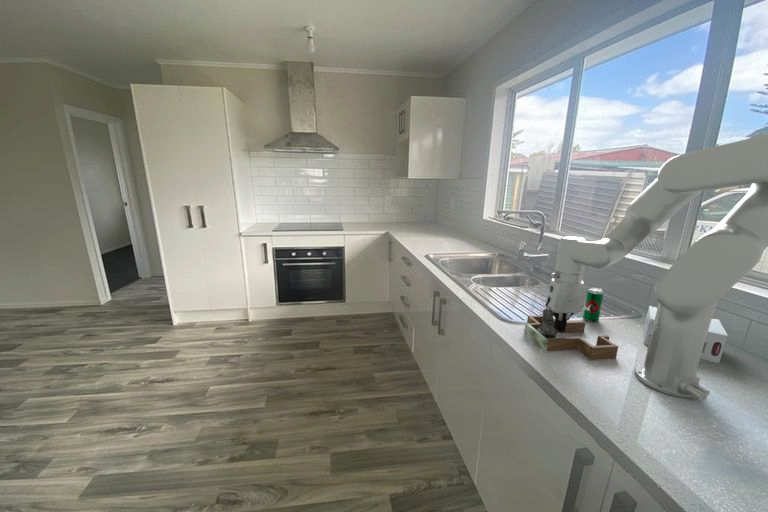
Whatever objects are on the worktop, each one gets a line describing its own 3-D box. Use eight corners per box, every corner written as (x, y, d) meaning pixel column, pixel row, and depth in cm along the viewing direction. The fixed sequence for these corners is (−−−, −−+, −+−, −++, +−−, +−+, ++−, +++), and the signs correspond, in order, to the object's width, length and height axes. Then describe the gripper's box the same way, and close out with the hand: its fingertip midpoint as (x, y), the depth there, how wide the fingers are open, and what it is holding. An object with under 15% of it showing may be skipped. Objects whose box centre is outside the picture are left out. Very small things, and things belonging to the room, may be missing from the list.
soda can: (601, 322, 111) (607, 291, 109) (588, 322, 112) (593, 291, 109) (592, 316, 116) (598, 287, 113) (579, 316, 116) (584, 287, 114)
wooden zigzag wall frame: (622, 358, 89) (624, 346, 88) (554, 362, 87) (556, 349, 86) (571, 324, 110) (572, 314, 109) (516, 326, 108) (517, 316, 107)
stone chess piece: (558, 346, 95) (560, 311, 92) (537, 344, 97) (538, 309, 94) (556, 336, 100) (557, 303, 97) (536, 335, 102) (537, 302, 100)
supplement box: (643, 344, 97) (649, 318, 94) (643, 329, 106) (648, 305, 104) (720, 364, 86) (729, 335, 84) (712, 345, 96) (719, 318, 94)
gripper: (552, 281, 89) (544, 336, 94) (600, 279, 90) (589, 335, 95) (538, 273, 97) (531, 325, 101) (582, 272, 98) (573, 323, 102)
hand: (559, 329), depth 98 cm, fingers closed
